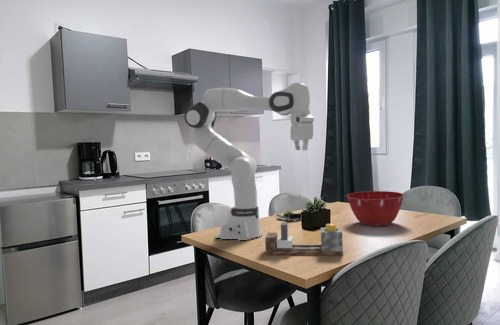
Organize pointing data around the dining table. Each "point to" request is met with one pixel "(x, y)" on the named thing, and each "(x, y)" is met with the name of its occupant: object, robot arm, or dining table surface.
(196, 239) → the dining table surface
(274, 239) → the rail base
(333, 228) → the gauge button
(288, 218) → the salad plate
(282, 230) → the carriage
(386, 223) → the mixing bowl
